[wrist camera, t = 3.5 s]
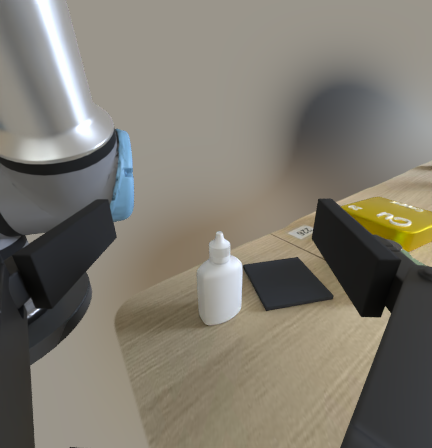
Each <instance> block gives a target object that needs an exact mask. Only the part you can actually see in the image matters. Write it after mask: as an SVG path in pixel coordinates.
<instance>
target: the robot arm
mask: <svg viewBox="0 0 432 448" xmlns="http://www.w3.org/2000/svg"><path fill="white" fill-rule="evenodd" d="M132 172H133V168H132V153H131V145H130V139H129V135H128V133H127V132H126V131H122V130H119V129H114V124H113V120H112V118H111V116H110V115H109V113H107V112H106V111H105V110H104V109H103V108H101V107H100V106H98V105H96V104H94V103H93V101H92V97H91V93H90V89H89V86H88V82H87V78H86V74H85V70H84V66H83V63H82V59H81V55H80V51H79V47H78V44H77V40H76V36H75V32H74V28H73V24H72V21H71V17H70V13H69V10H68V6H67V2H66V0H0V448H35V443H34V426H33V408H32V391H31V374H30V354H29V336H28V325H29V324H31V323H32V322H34V321H35V320H36V319H37V318H39V317H40V316H41V315H42V314H43V313H45V312H46V311H47V310H48V309H53V307H54V306H55V305H56V304H57V303H58V302H59V301H60V300H61V299H62V297H63V296H64V295H65V294H66V293H67V292H68V291H69V290H70V289H71V287H72V286H73V285H74V284H75V283H76V282H77V281H78V280H79V279H80V277H81V276H82V275H83V274H84V273H85V272H86V271H87V270H88V269H89V267H90V266H91V265H92V264H93V263H94V262H95V261H96V260H97V259H98V258H99V256H100V255H101V254H102V253H103V252H104V251H105V250H106V249H107V247H108V246H109V245H110V244H111V243H112V242H113V241H114V240H115V238H116V232H115V227H114V223H113V222H116V221H121V220H125V219H127V218H128V217H129V216H130V215H131V213H132V211H133V207H134V180H133V174H132ZM45 232H46V233H45ZM38 233H45V234H43V235H42V236H40V237H39V238H37V239H36V240H34V241H33V242H31V243H30V244H29V243H28V241H27V239H26V236H25V235H30V234H38ZM312 240H313V241H314V243H315V245H316V246H317V248H318V249H319V251H320V252H321V254H322V256H323V257H324V259H325V260H326V262H327V264H328V265H329V267H330V268H331V270H332V271H333V273H334V275H335V276H336V278H337V279H338V281H339V283H340V284H341V286H342V287H343V289H344V290H345V292H346V294H347V295H348V297H349V298H350V300H351V301H352V303H353V305H354V306H355V308H356V309H357V311H358V313H359V314H360V316H361V317H381V315H382V313H383V310H384V307H385V306H386V307H387V308H388V310H389V311H390V312H391V316H390V318H389V321H388V324H387V326H386V329H385V331H384V334H383V337H382V339H381V342H380V345H379V347H378V350H377V352H376V355H375V358H374V360H373V363H372V366H371V368H370V371H369V374H368V376H367V379H366V381H365V384H364V387H363V389H362V392H361V395H360V397H359V400H358V402H357V405H356V408H355V410H354V413H353V416H352V418H351V421H350V423H349V426H348V429H347V431H346V434H345V437H344V439H343V442H342V444H341V447H340V448H432V267H429V266H425V265H417V264H416V263H414V262H413V261H412V260H411V259H410V258H408V257H407V256H406V255H405V254H404V253H402V252H400V250H399V249H398V248H396V247H394V245H393V244H392V243H390V242H389V241H388V240H386V239H384V238H382V237H380V236H378V235H372V234H371V233H370V232H369V231H368V230H367V229H365V228H364V227H363V226H362V225H361V224H360V223H359V222H357V221H356V220H355V219H354V218H353V217H352V216H351V215H349V214H348V213H347V212H346V211H345V210H344V209H343V208H341V207H340V206H339V205H338V204H337V203H336V202H335V201H333V200H332V199H318V204H317V210H316V216H315V222H314V228H313V234H312ZM70 448H75V447H70Z"/></svg>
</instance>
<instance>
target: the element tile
mask: <svg viewBox="0 0 432 448" xmlns="http://www.w3.org/2000/svg"><path fill="white" fill-rule="evenodd" d="M341 208H343V209H344V210H345V211H346V212H347V213H348V214H349V215H351V216H352V217H353V218H354V219H355V220H356V221H357V222H359V223H360V224H361V225H362V226H363V227H364V228H365V229H367V230H368V231H369V232H370V233H371V234H372V235H378V236H380V237H382V238H384V239H389V240H392V241H395V242H397V243H399V244H400V245H401V246H402V249H404V250H405V251H407V252H410V251H412V250H414V249H416V248H418V247H421V246H423V245H425V244H427V243H429V242H432V212H431V211H427V210H424V209H420V208H417V207H413V206H410V205H407V204H403V203H399V202H396V201H392V200H389V199H385V198H382V197H374V198H370V199H366V200H362V201H359V202H355V203H351V204H347V205H344V206H341Z"/></svg>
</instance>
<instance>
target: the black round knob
mask: <svg viewBox="0 0 432 448" xmlns="http://www.w3.org/2000/svg"><path fill="white" fill-rule="evenodd" d="M386 240H388V241H389V242H390V243H392V244H393V245H394V247H396V248H398V249H399V250H400V252H401V251H402V246H401V245H400V244H399V243H397V242H395V241H392V240H389V239H386Z"/></svg>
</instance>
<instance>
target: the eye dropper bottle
mask: <svg viewBox="0 0 432 448" xmlns="http://www.w3.org/2000/svg"><path fill="white" fill-rule="evenodd" d="M197 291H198V306H199V316H200V317H201V319H202V320H203V322H204V323H205V324H206V325H217V324H221V323H224V322H226V321H228V320H230V319H231V318H233V317H234V316H235V315H236V314H237V313H238V312H239V311H240V309H241V300H242V263H241V262H240V260H239V259H237V258H236V257H234V256H232V255H230V243H229V241H227V240H225V239H224V237H223V233H222V232H221V231H218V232H216V237H215V239H214V240H212V241H211V242H210V243H209V259H208V260H207V261H205V262H204V263H203V264H202V265H201V266H200V267H199V268H198V270H197Z"/></svg>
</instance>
